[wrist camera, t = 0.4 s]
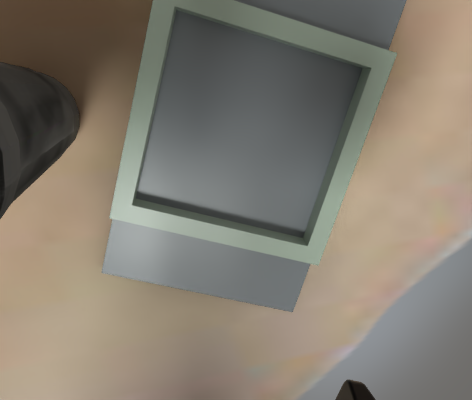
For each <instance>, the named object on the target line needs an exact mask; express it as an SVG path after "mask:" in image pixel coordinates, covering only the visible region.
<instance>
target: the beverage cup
mask: <svg viewBox="0 0 472 400" xmlns="http://www.w3.org/2000/svg"><path fill="white" fill-rule="evenodd" d="M78 129H79V111H78V108H77V105H76V102H75V100H74V98H73V97H72V95H71V94H70V93H69V91H68V90H67V88H66V87H65V86H63V85H62V84H61V83H60V82H58V81H57V80H56V79H55V78H52V77H50V76H48V75H45V74H43V73H39V72H36V71H33V70H31V69H29V68H24V67H20V66H16V65H11V64H7V63H2V62H0V219H1V217H2V216H3V215H4V213H5V212H6V210H7V209H8V207H9V206H10V204H11V203H12V202H13V201H14V200H15V199H16V198H17V197H19V196H20V195H21V194H22V193H23V192H24V191H25V190H26V189H27V188H28V187H29V186H30V185H31V184H32V183H33V182H34V181H36V180H37V179H38V178H39V177H40V176H41V175H42V174H43V173H44V172H45V171H46V170H47V169H48V168H49V167H50V166H51V165H52V164H54V163H55V162H56V161H57V160H58V159H59V158H60V157H61V156H62V154H63V153H64V152H65V151H66V149H67V148H68V147H69V146H70V145H71V143H72V142H73V141H74V140H75V138H76V135H77V132H78Z"/></svg>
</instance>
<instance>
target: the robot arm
mask: <svg viewBox="0 0 472 400" xmlns="http://www.w3.org/2000/svg"><path fill="white" fill-rule="evenodd" d="M336 400H375V398H374V397H373V395H372V394H371V393H370V391H369V390H368V389H367V387H366V386H365V385H364V384H363V383H361V382H358V381H353V380H346V381H345V382H344V384H343V386H342V388H341V390H340V392H339V394H338V396H337V397H336Z"/></svg>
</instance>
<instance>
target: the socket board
mask: <svg viewBox="0 0 472 400" xmlns="http://www.w3.org/2000/svg"><path fill="white" fill-rule="evenodd" d="M405 3H406V0H153V3H152V8H151V13H150V18H149V23H148V28H147V33H146V38H145V43H144V48H143V53H142V58H141V63H140V68H139V73H138V78H137V83H136V88H135V93H134V98H133V103H132V108H131V113H130V118H129V123H128V128H127V133H126V138H125V143H124V148H123V153H122V157H121V162H120V167H119V172H118V177H117V182H116V187H115V192H114V197H113V202H112V207H111V212H110V217H109V218H111V219H112V224H111V229H110V234H109V239H108V244H107V249H106V254H105V259H104V263H103V268H102V273H105V274H109V275H114V276H119V277H124V278H129V279H134V280H139V281H143V282H148V283H153V284H158V285H163V286H168V287H173V288H178V289H182V290H187V291H192V292H197V293H202V294H207V295H212V296H216V297H221V298H226V299H231V300H236V301H241V302H246V303H251V304H255V305H260V306H265V307H270V308H275V309H280V310H285V311H289V312H293V310H294V307H295V304H296V302H297V299H298V296H299V294H300V291H301V288H302V285H303V283H304V280H305V277H306V274H307V272H308V269H309V266H310V264H314V265H319V263H320V260H321V257H322V254H323V252H324V249H325V246H326V244H327V241H328V238H329V236H330V233H331V230H332V228H333V225H334V222H335V219H336V217H337V214H338V211H339V209H340V206H341V203H342V201H343V198H344V195H345V193H346V190H347V187H348V184H349V182H350V179H351V176H352V174H353V171H354V168H355V166H356V163H357V160H358V158H359V155H360V152H361V150H362V147H363V144H364V141H365V139H366V136H367V133H368V131H369V128H370V125H371V123H372V120H373V117H374V115H375V112H376V109H377V106H378V104H379V101H380V98H381V96H382V93H383V90H384V88H385V85H386V82H387V80H388V77H389V74H390V71H391V69H392V66H393V63H394V61H395V58H396V55H397V53H395V52H392V51H389V47H390V44H391V41H392V39H393V36H394V33H395V30H396V28H397V25H398V22H399V19H400V17H401V14H402V11H403V8H404V6H405Z"/></svg>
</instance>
